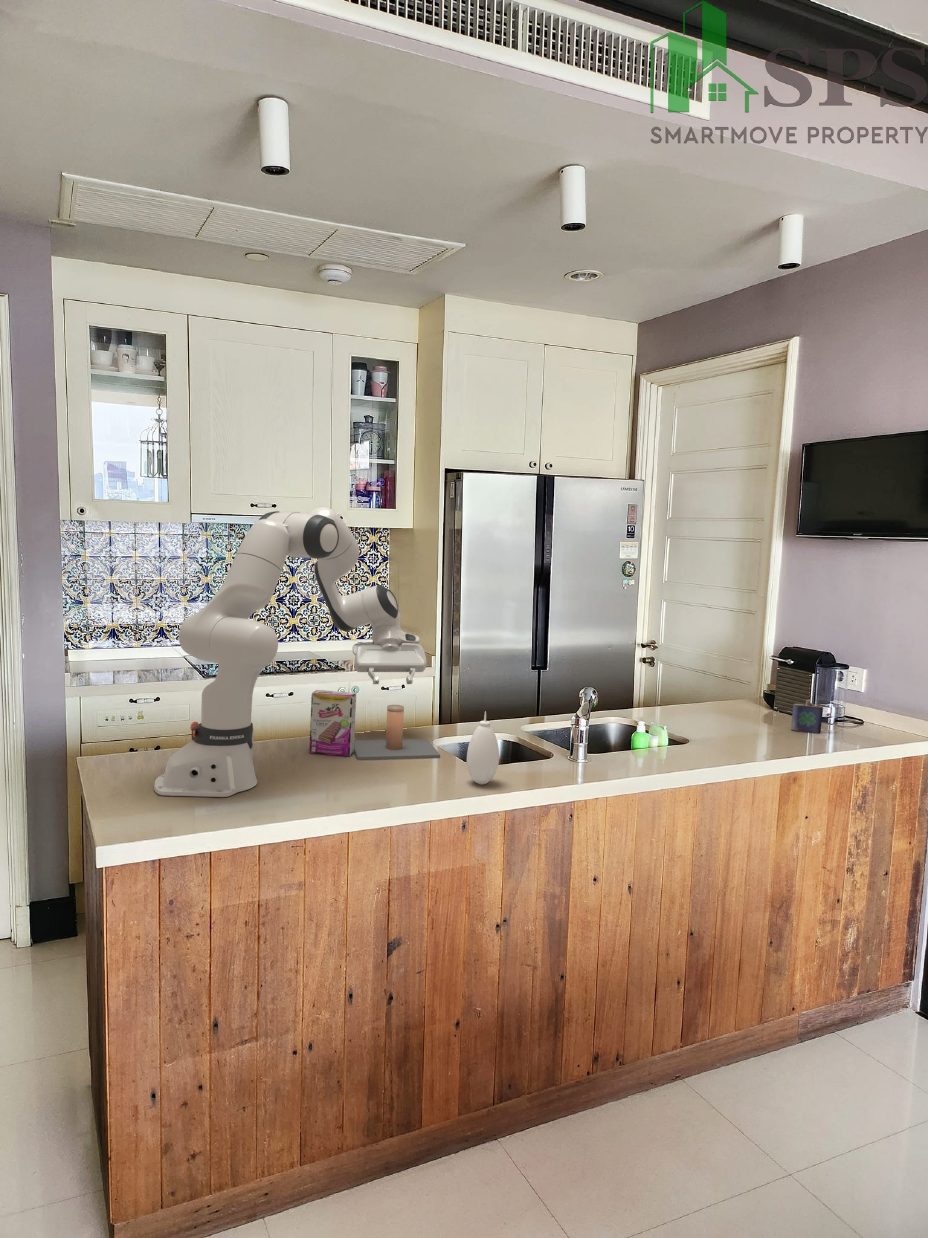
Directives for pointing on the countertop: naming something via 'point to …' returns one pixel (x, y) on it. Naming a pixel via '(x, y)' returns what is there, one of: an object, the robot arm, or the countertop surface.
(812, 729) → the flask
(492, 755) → the white air blower bulb
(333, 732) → the candy bar box
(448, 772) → the countertop surface
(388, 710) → the spice jar
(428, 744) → the mat
